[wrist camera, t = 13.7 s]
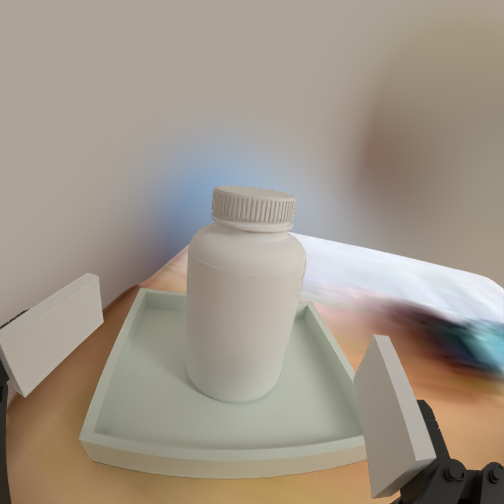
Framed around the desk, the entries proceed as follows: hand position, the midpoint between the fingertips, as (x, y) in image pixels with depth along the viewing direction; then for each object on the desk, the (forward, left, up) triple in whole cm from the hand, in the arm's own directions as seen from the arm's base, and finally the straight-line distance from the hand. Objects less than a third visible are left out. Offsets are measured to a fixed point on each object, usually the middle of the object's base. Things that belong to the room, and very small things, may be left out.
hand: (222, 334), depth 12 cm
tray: (-2, -8, -11) cm, 13 cm away
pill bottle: (-2, -8, -10) cm, 12 cm away
